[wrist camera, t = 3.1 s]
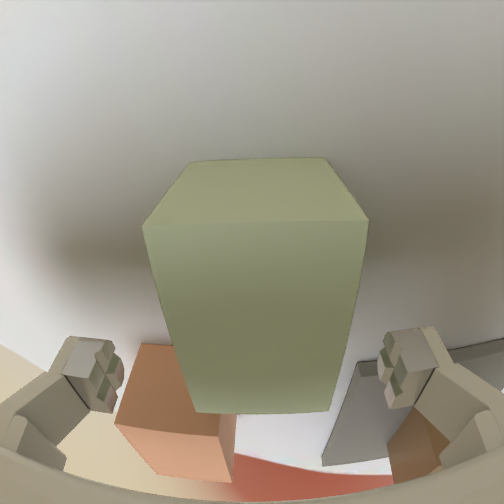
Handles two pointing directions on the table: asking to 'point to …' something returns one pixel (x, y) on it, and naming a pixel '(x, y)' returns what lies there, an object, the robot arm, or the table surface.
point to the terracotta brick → (173, 421)
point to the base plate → (400, 419)
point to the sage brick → (258, 281)
